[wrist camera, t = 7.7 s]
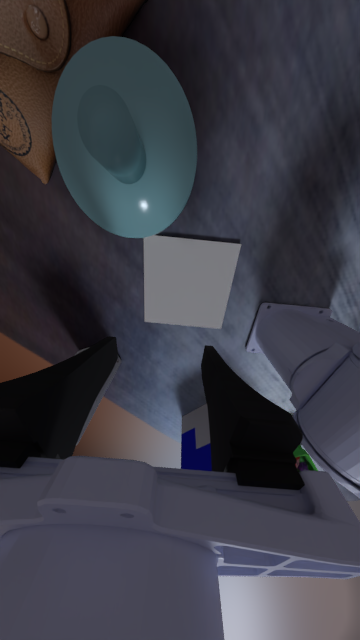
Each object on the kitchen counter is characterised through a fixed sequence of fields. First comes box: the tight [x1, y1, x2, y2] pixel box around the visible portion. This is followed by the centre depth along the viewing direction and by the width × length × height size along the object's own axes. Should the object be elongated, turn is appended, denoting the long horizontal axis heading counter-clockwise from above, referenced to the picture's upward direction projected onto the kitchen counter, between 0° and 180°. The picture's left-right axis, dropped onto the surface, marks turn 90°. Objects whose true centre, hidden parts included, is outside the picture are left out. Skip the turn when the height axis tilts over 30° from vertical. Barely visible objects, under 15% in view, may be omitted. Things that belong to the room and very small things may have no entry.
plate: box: [144, 235, 241, 329], centre depth 20 cm, size 11×11×1 cm
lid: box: [52, 36, 197, 238], centre depth 11 cm, size 11×11×4 cm
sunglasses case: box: [0, 0, 148, 184], centre depth 11 cm, size 18×7×7 cm
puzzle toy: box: [181, 404, 212, 471], centre depth 28 cm, size 10×10×10 cm
